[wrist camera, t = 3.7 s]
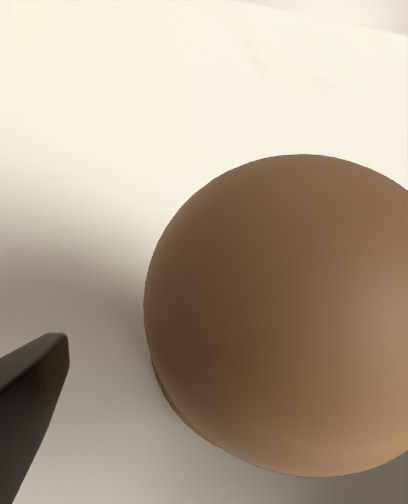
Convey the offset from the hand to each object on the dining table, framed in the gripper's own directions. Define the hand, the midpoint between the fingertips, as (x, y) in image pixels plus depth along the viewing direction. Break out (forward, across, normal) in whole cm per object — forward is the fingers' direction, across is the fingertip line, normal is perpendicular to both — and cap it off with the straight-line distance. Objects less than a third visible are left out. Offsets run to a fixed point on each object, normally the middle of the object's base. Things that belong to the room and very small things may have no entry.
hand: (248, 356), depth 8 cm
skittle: (+6, 0, +6) cm, 9 cm away
